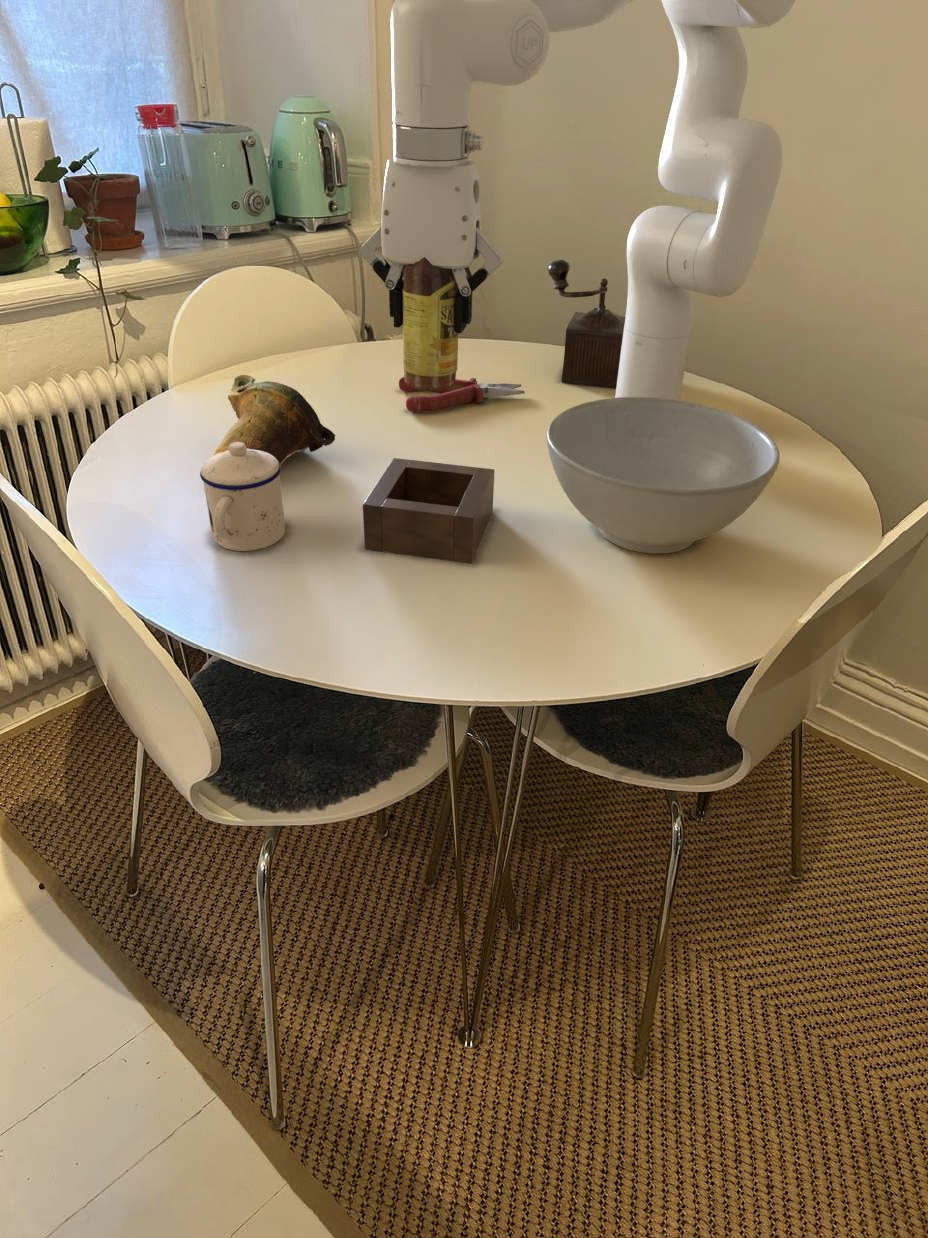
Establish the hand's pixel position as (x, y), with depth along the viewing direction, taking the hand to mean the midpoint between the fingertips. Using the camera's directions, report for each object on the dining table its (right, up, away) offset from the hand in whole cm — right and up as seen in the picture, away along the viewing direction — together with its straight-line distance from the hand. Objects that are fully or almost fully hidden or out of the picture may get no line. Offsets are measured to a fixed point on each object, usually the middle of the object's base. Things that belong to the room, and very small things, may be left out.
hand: (430, 325), depth 97 cm
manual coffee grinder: (+24, +10, +57) cm, 63 cm away
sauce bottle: (0, -6, +4) cm, 7 cm away
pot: (-24, -10, +26) cm, 37 cm away
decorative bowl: (+27, -22, +12) cm, 36 cm away
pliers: (+3, +2, +45) cm, 45 cm away
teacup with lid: (-23, -24, +7) cm, 33 cm away
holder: (0, -22, +10) cm, 24 cm away
